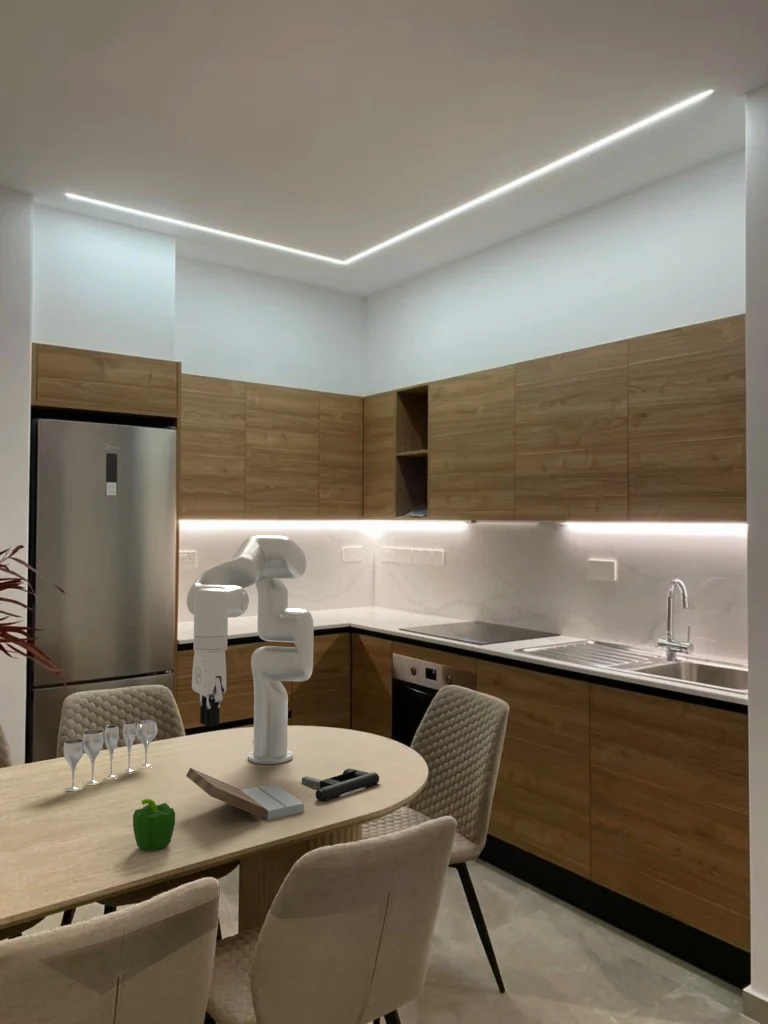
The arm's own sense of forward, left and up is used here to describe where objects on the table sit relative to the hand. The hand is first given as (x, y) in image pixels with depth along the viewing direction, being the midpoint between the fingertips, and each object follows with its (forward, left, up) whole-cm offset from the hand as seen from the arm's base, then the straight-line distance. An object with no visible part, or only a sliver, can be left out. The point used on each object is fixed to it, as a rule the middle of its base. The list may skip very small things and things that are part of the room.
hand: (209, 724), depth 176 cm
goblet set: (-41, -11, -21) cm, 48 cm away
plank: (0, +4, -17) cm, 17 cm away
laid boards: (0, +16, -21) cm, 26 cm away
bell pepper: (+9, -15, -21) cm, 28 cm away
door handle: (-4, +35, -22) cm, 41 cm away
